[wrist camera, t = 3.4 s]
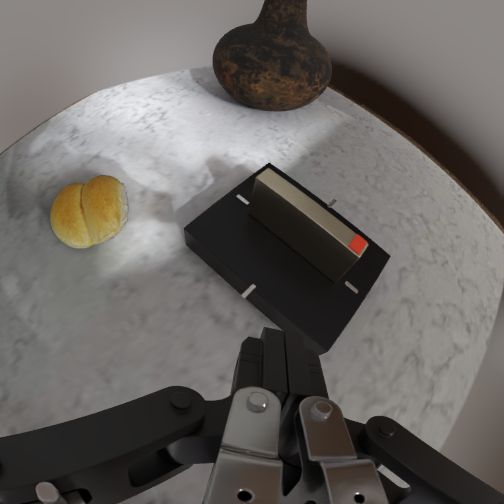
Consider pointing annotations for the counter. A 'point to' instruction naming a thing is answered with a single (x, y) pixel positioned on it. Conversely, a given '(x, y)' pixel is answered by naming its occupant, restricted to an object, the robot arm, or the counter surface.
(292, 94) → the brown mottled bulbous container
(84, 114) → the counter surface
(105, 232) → the bread roll
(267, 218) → the red-tipped beige bar
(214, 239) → the black square dial panel
